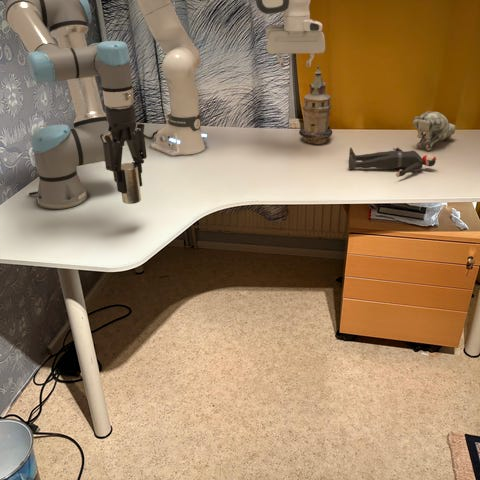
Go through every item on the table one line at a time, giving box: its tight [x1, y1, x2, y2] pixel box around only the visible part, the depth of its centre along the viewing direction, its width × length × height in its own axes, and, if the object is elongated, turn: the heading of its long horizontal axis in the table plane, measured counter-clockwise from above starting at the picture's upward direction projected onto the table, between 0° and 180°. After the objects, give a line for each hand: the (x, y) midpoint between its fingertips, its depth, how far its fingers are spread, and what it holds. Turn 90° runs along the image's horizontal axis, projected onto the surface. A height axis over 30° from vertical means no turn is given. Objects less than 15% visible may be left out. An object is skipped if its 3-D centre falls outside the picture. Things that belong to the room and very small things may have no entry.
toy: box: [348, 146, 437, 178], centre depth 192 cm, size 26×6×30 cm
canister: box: [121, 162, 142, 205], centre depth 148 cm, size 5×5×10 cm
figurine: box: [412, 111, 456, 152], centre depth 210 cm, size 10×19×20 cm
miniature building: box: [298, 65, 333, 145], centre depth 213 cm, size 13×14×30 cm
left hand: (130, 188), depth 149 cm, fingers closed on canister, 5 cm apart
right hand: (295, 66), depth 189 cm, fingers open, 8 cm apart
